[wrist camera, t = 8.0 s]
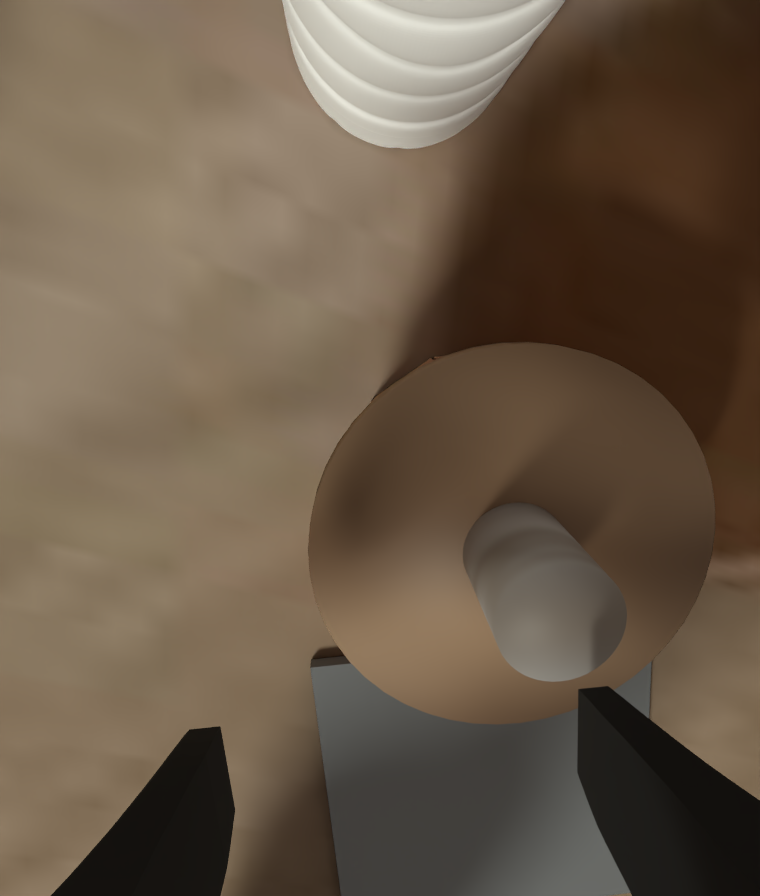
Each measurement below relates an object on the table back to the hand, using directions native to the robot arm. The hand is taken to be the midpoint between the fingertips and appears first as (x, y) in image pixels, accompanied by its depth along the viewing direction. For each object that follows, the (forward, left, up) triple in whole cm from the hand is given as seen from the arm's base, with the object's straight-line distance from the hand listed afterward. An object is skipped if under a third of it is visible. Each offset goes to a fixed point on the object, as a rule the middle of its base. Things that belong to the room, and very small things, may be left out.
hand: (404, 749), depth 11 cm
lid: (+2, -4, -5) cm, 7 cm away
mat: (-11, -4, -10) cm, 15 cm away
